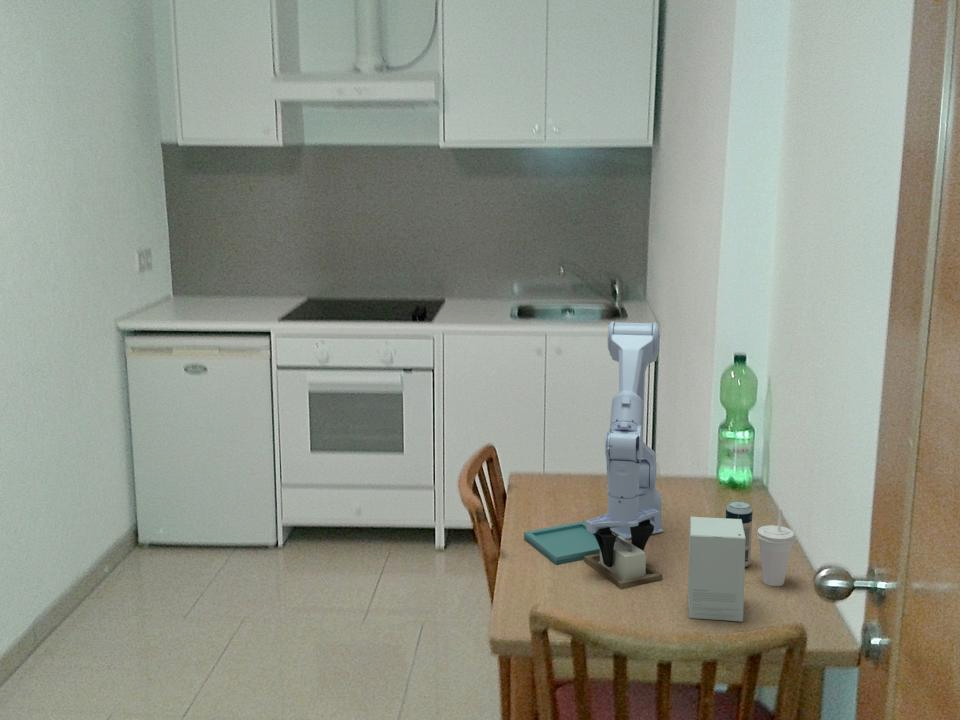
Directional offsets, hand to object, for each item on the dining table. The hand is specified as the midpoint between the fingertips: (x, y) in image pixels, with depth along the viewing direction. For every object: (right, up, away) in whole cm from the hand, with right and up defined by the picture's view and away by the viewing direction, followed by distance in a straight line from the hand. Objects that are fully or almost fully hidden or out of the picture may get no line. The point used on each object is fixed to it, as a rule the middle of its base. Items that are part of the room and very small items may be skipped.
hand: (622, 562), depth 176 cm
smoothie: (+27, -3, -6) cm, 27 cm away
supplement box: (+13, -5, -15) cm, 21 cm away
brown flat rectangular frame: (0, -2, 0) cm, 2 cm away
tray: (-8, +1, +12) cm, 15 cm away
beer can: (+22, -1, +2) cm, 22 cm away
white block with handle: (0, -2, 0) cm, 2 cm away
